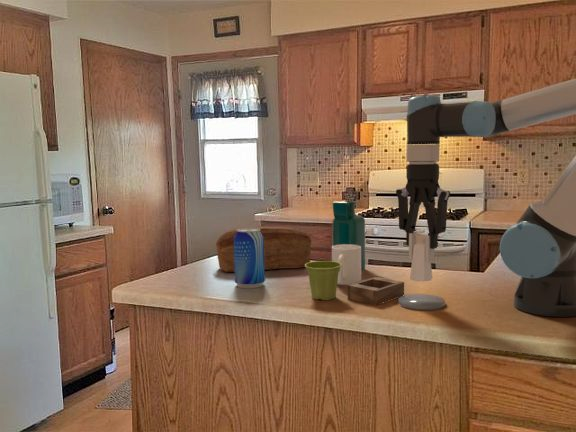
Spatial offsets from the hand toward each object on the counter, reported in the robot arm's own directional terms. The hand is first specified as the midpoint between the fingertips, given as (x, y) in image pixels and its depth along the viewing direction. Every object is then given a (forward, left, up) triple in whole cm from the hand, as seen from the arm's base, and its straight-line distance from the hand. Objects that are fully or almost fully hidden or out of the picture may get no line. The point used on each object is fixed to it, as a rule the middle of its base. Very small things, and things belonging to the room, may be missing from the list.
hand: (421, 260), depth 132 cm
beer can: (+46, +15, -11) cm, 49 cm away
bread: (+60, -4, -11) cm, 61 cm away
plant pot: (+22, +11, -11) cm, 27 cm away
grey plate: (0, 0, -11) cm, 11 cm away
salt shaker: (0, 0, -5) cm, 5 cm away
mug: (+27, -4, -11) cm, 29 cm away
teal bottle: (+37, -18, -11) cm, 42 cm away
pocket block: (+12, +2, -11) cm, 16 cm away
